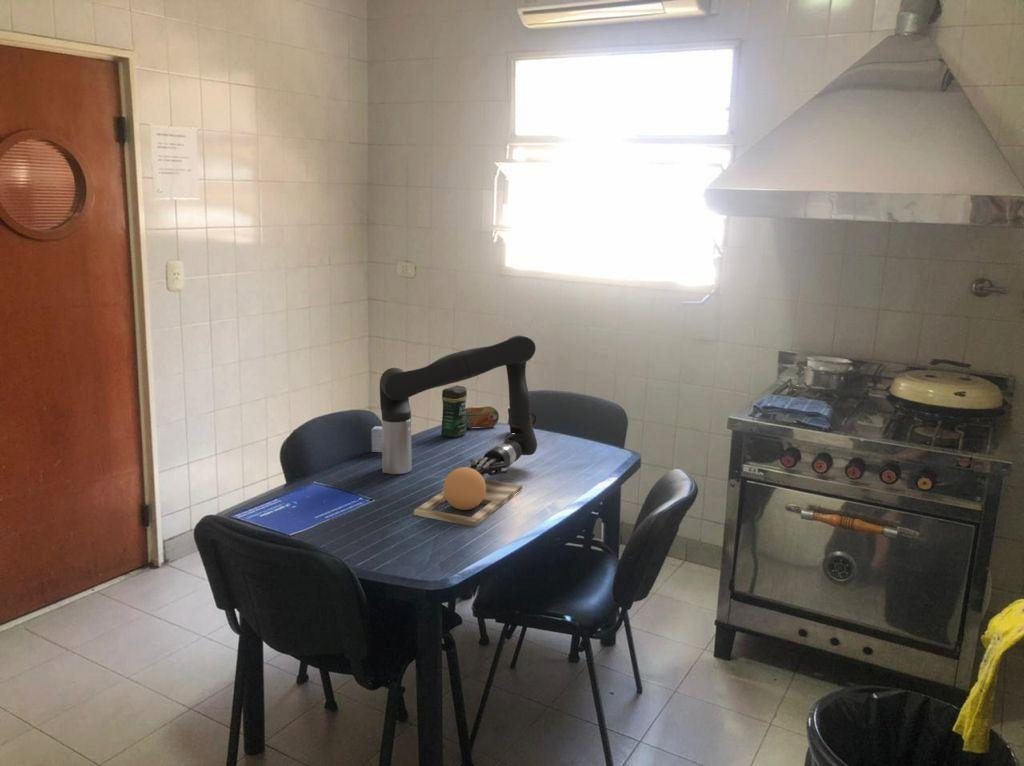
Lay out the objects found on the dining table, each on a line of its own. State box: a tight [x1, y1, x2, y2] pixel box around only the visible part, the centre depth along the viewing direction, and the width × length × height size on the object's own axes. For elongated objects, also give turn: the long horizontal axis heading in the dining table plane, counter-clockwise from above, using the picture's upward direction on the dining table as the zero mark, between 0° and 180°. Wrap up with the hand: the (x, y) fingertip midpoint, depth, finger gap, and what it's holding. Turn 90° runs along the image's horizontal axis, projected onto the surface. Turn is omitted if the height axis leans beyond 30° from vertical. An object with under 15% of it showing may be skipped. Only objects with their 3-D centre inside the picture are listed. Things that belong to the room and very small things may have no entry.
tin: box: [466, 405, 500, 429], centre depth 312 cm, size 15×3×8 cm, turn 105°
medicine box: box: [370, 425, 382, 453], centre depth 279 cm, size 8×4×9 cm, turn 84°
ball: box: [443, 466, 486, 511], centre depth 228 cm, size 12×12×12 cm
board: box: [413, 478, 523, 527], centre depth 234 cm, size 32×19×2 cm, turn 156°
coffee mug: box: [507, 405, 537, 434], centre depth 304 cm, size 12×9×10 cm
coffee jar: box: [441, 385, 468, 438], centre depth 300 cm, size 10×8×19 cm
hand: (475, 474), depth 236 cm, fingers closed
